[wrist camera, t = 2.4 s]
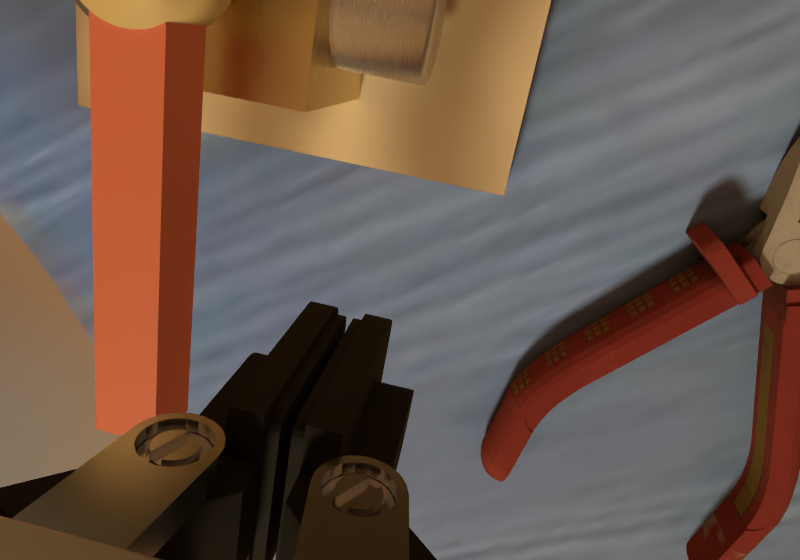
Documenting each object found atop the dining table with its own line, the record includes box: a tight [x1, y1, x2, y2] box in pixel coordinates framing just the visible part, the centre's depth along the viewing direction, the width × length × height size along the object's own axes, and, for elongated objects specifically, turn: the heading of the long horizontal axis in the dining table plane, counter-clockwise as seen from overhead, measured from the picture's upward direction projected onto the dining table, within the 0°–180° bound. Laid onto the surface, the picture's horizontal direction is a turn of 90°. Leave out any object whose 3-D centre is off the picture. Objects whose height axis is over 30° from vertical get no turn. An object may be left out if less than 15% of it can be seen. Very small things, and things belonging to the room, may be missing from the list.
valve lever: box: [80, 0, 232, 436], centre depth 14 cm, size 12×3×2 cm, turn 170°
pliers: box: [481, 136, 800, 560], centre depth 21 cm, size 12×20×3 cm, turn 158°
